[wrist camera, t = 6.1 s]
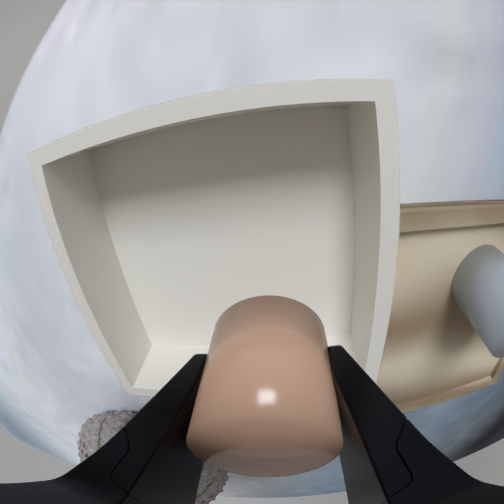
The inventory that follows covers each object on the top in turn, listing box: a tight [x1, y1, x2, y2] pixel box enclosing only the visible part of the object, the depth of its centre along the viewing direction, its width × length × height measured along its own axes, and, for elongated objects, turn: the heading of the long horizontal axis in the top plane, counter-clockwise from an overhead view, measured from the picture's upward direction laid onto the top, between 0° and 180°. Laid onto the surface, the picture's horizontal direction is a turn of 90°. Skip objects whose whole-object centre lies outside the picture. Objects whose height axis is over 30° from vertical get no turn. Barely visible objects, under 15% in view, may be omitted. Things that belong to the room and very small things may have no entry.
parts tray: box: [376, 200, 504, 413], centre depth 13 cm, size 14×12×1 cm
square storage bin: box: [28, 79, 400, 397], centre depth 10 cm, size 11×11×4 cm
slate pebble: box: [451, 244, 504, 358], centre depth 10 cm, size 4×4×4 cm
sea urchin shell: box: [77, 410, 228, 504], centre depth 17 cm, size 13×14×8 cm
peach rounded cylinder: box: [186, 295, 343, 477], centre depth 7 cm, size 4×4×4 cm
